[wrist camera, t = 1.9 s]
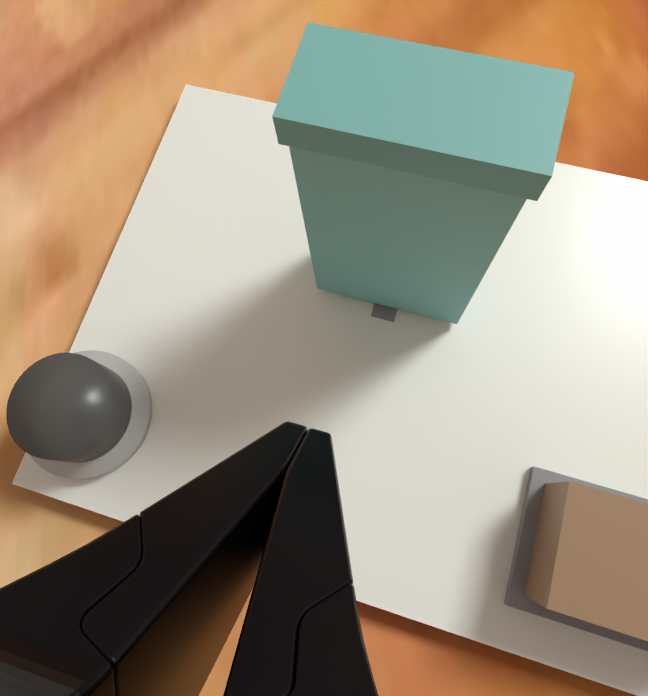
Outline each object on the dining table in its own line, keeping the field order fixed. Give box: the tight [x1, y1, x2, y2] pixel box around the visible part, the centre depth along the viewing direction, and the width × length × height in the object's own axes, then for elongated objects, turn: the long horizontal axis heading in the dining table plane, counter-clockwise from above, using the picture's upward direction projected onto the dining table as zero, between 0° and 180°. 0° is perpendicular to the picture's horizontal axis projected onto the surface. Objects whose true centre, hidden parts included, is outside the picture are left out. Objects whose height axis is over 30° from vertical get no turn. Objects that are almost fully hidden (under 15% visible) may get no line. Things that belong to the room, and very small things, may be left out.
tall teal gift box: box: [272, 23, 575, 324], centre depth 17 cm, size 3×6×11 cm, turn 73°
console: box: [7, 85, 648, 696], centre depth 21 cm, size 20×27×4 cm
